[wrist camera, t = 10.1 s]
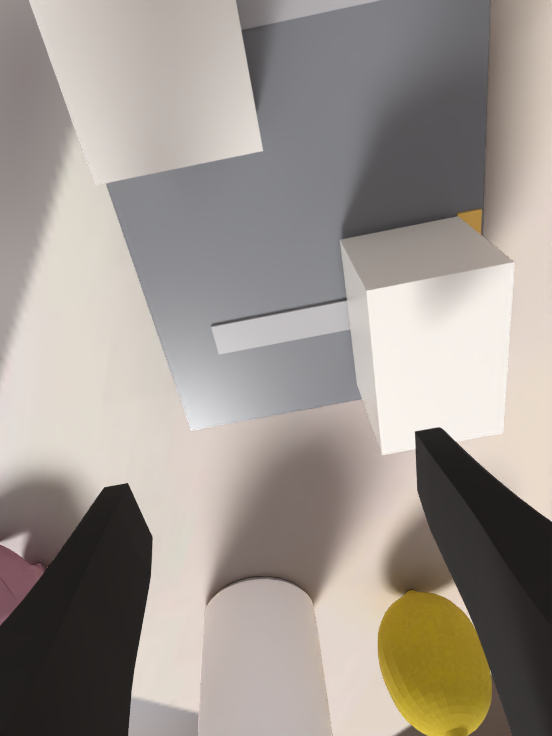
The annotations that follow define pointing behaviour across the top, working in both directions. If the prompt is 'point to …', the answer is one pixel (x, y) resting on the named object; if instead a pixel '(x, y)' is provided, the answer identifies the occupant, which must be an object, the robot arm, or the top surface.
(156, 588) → the top surface
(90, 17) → the switch front
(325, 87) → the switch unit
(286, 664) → the can
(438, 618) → the lemon
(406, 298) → the switch back
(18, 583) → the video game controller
